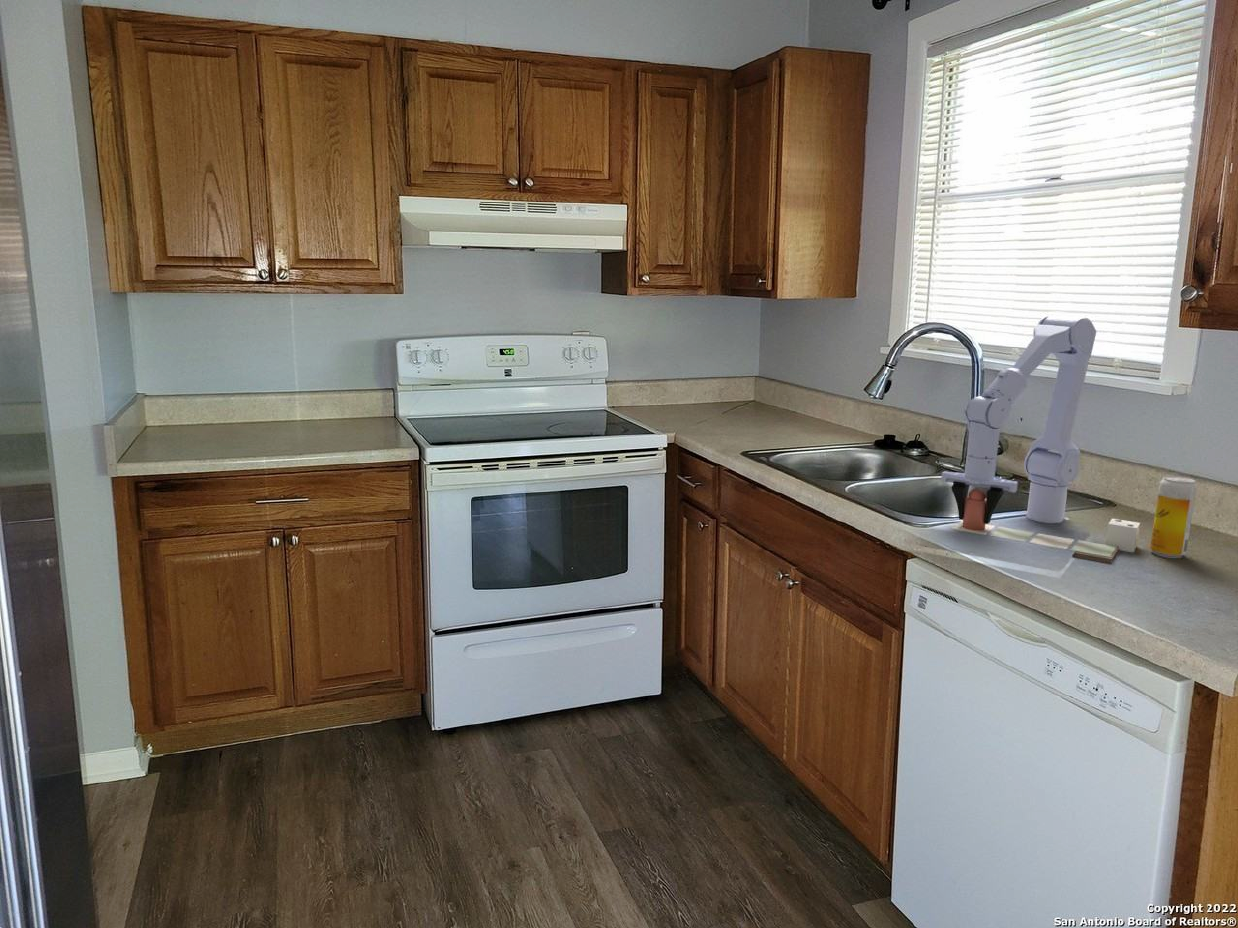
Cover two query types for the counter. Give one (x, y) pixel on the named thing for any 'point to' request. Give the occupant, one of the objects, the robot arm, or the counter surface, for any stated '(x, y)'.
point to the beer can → (1173, 516)
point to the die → (1123, 534)
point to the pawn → (975, 510)
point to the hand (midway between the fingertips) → (974, 520)
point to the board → (1051, 542)
